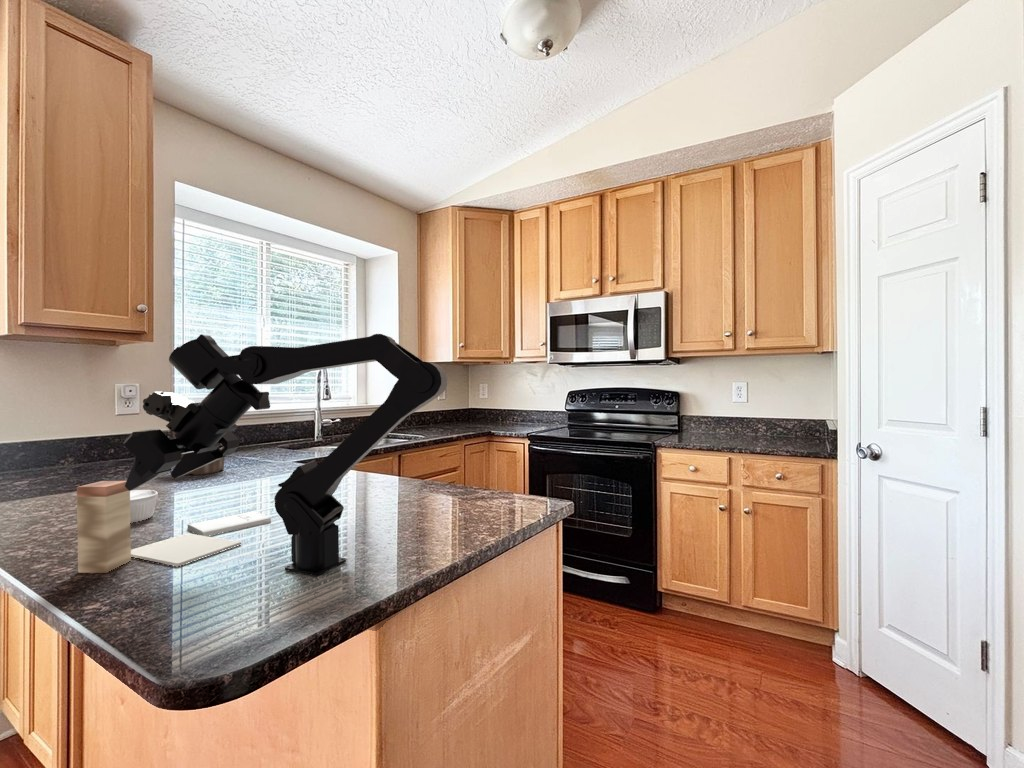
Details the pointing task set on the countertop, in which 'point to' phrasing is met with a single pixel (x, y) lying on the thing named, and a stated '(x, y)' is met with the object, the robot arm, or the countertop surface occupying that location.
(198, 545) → the mat
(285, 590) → the countertop surface
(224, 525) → the external hard drive
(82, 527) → the post
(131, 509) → the ramekin
